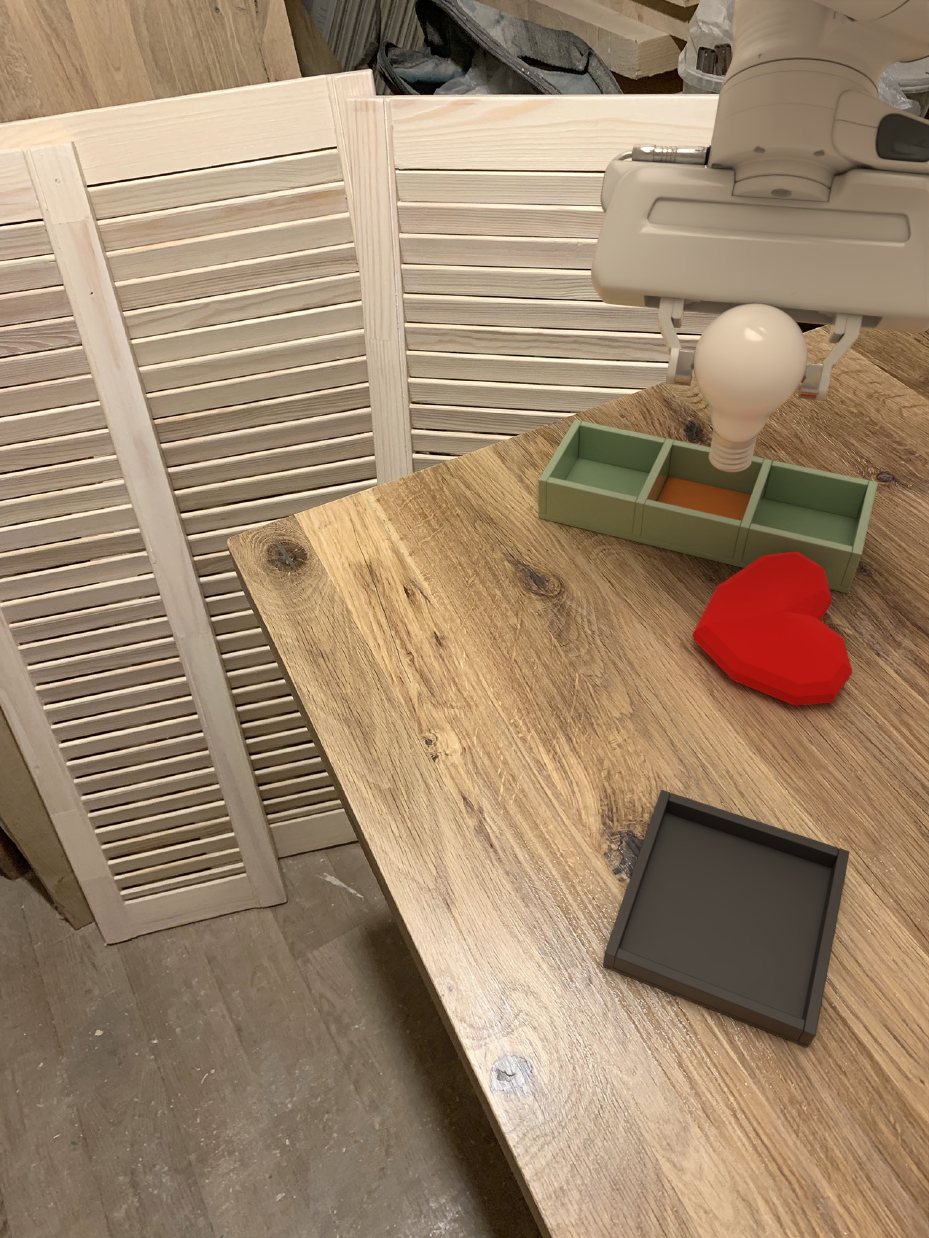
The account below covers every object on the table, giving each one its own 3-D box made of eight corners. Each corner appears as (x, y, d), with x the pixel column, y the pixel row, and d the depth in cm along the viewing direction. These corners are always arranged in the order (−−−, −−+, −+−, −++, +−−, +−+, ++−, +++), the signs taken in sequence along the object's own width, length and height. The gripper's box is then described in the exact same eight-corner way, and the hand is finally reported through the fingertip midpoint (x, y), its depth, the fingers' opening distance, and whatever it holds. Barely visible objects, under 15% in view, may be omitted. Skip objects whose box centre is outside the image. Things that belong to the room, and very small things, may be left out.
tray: (841, 866, 55) (849, 850, 54) (807, 1048, 48) (815, 1035, 47) (658, 805, 59) (661, 788, 57) (602, 966, 52) (604, 952, 51)
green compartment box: (864, 521, 75) (878, 481, 72) (848, 594, 70) (862, 554, 67) (573, 457, 83) (574, 419, 80) (538, 518, 78) (538, 479, 75)
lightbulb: (716, 425, 63) (743, 271, 55) (798, 464, 60) (841, 307, 52) (658, 469, 60) (678, 315, 52) (742, 513, 57) (777, 355, 49)
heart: (703, 723, 65) (852, 711, 63) (706, 695, 61) (864, 681, 60) (679, 584, 71) (814, 570, 70) (681, 551, 68) (822, 536, 66)
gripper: (605, 117, 53) (565, 359, 54) (992, 136, 49) (941, 400, 50) (613, 165, 59) (577, 382, 60) (958, 186, 55) (913, 420, 56)
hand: (744, 390), depth 55 cm, fingers closed on lightbulb, 6 cm apart
